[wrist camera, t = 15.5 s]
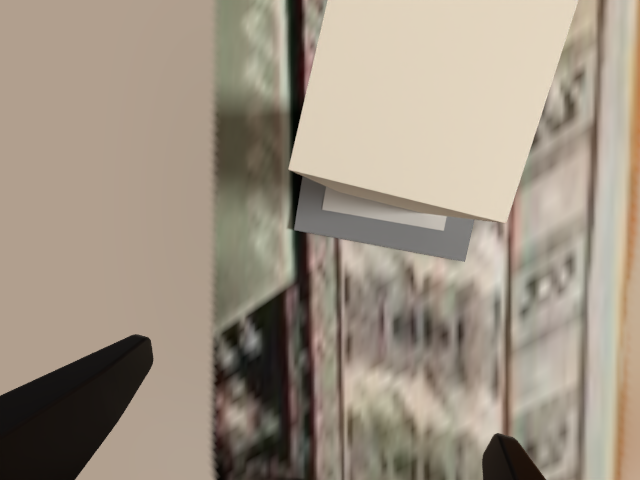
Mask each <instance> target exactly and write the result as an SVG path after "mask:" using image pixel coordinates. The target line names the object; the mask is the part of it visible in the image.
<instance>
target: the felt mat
mask: <svg viewBox="0 0 640 480" xmlns="http://www.w3.org/2000/svg"><path fill="white" fill-rule="evenodd" d="M473 223H474V219H466V218H458V217H449V216H441V215H432V214H424V213H420V212H416V211H412V210H408V209H404V208H400V207H396V206H392V205H388V204H384V203H380V202H376V201H372V200H368V199H364V198H360V197H356V196H352V195H348V194H344V193H340V192H338V191H335V190H333V189H331V188H329V187H326V186H324V185H322V184H320V183H317V182H315V181H313V180H311V179H308V178H306V177H304V176H303V177H302V184H301V190H300V196H299V202H298V208H297V215H296V221H295V227H294V230H297V231H302V232H308V233H313V234H319V235H324V236H329V237H335V238H340V239H346V240H351V241H356V242H362V243H367V244H372V245H378V246H383V247H389V248H394V249H399V250H405V251H410V252H416V253H421V254H426V255H432V256H437V257H443V258H448V259H453V260H459V261H464V262H465V259H466V255H467V250H468V246H469V241H470V237H471V232H472V228H473Z"/></svg>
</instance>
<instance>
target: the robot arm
mask: <svg viewBox="0 0 640 480" xmlns="http://www.w3.org/2000/svg"><path fill="white" fill-rule="evenodd" d="M152 364H153V353H152V346H151V340H150V339H149V338H148V337H145V336H141V335H136V334H135V335H132V336H129V337H127V338H125V339H123V340H120V341H118V342H116V343H114V344H112V345H110V346H108V347H105V348H103V349H101V350H99V351H97V352H94V353H92V354H90V355H88V356H86V357H83V358H81V359H79V360H77V361H75V362H73V363H70V364H68V365H66V366H64V367H62V368H59V369H57V370H55V371H53V372H51V373H49V374H46V375H44V376H42V377H40V378H38V379H35V380H33V381H32V382H29V383H27V384H25V385H23V386H20V387H18V388H16V389H14V390H12V391H9V392H7V393H5V394H3V395H1V396H0V480H75V479H76V477H77V476H78V475H79V473H80V472H81V471H82V469H83V468H84V467H85V465H86V464H87V462H88V461H89V460H90V459H91V457H92V456H93V455H94V453H95V452H96V451H97V449H98V448H99V446H100V445H101V444H102V442H103V441H104V440H105V438H106V437H107V436H108V434H109V433H110V432H111V430H112V429H113V427H114V426H115V425H116V423H117V422H118V420H119V419H120V417H121V416H122V414H123V413H124V411H125V410H126V408H127V406H128V404H129V403H130V401H131V400H132V398H133V396H134V395H135V393H136V391H137V390H138V388H139V386H140V385H141V383H142V382H143V380H144V378H145V376H146V375H147V374H148V372H149V370H150V369H151V366H152ZM482 467H483V480H546V479H545V478H544V476H543V475H542V473H541V472H540V471H539V469H538V468H537V467H536V465H535V464H534V463H533V461H532V460H531V459H530V457H529V456H528V454H527V453H526V452H525V450H524V449H523V448H522V446H521V445H520V444H519V442H518V441H517V440H516V439H515V438H513V437H510V436H507V435H503V434H499V433H497V434H495V435H494V436H493V437H492V439H491V441H490V443H489V445H488V446H487V448H486V450H485V452H484V454H483V459H482Z"/></svg>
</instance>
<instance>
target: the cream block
mask: <svg viewBox="0 0 640 480" xmlns="http://www.w3.org/2000/svg"><path fill="white" fill-rule="evenodd" d="M577 3H578V0H328V2H327V6H326V11H325V15H324V19H323V23H322V28H321V32H320V36H319V40H318V45H317V49H316V53H315V58H314V62H313V66H312V70H311V75H310V79H309V83H308V87H307V92H306V96H305V100H304V105H303V109H302V113H301V117H300V122H299V126H298V130H297V135H296V139H295V143H294V147H293V152H292V156H291V160H290V164H289V169H288V170H291V171H293V172H295V173H297V174H299V175H302V176H304V177H306V178H308V179H311V180H313V181H315V182H317V183H320V184H322V185H324V186H326V187H329V188H331V189H333V190H335V191H338V192H340V193H344V194H348V195H352V196H356V197H360V198H364V199H368V200H372V201H376V202H380V203H384V204H388V205H392V206H396V207H400V208H404V209H408V210H412V211H416V212H420V213H424V214H432V215H441V216H449V217H458V218H466V219H475V220H483V221H492V222H500V223H506V222H507V219H508V216H509V213H510V209H511V206H512V203H513V200H514V197H515V194H516V191H517V188H518V185H519V182H520V179H521V176H522V173H523V169H524V166H525V163H526V160H527V157H528V154H529V151H530V148H531V145H532V142H533V139H534V136H535V132H536V129H537V126H538V123H539V120H540V117H541V114H542V111H543V108H544V105H545V102H546V99H547V96H548V92H549V89H550V86H551V83H552V80H553V77H554V74H555V71H556V68H557V65H558V62H559V59H560V56H561V52H562V49H563V46H564V43H565V40H566V37H567V34H568V31H569V28H570V25H571V22H572V19H573V15H574V12H575V9H576V6H577Z"/></svg>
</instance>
